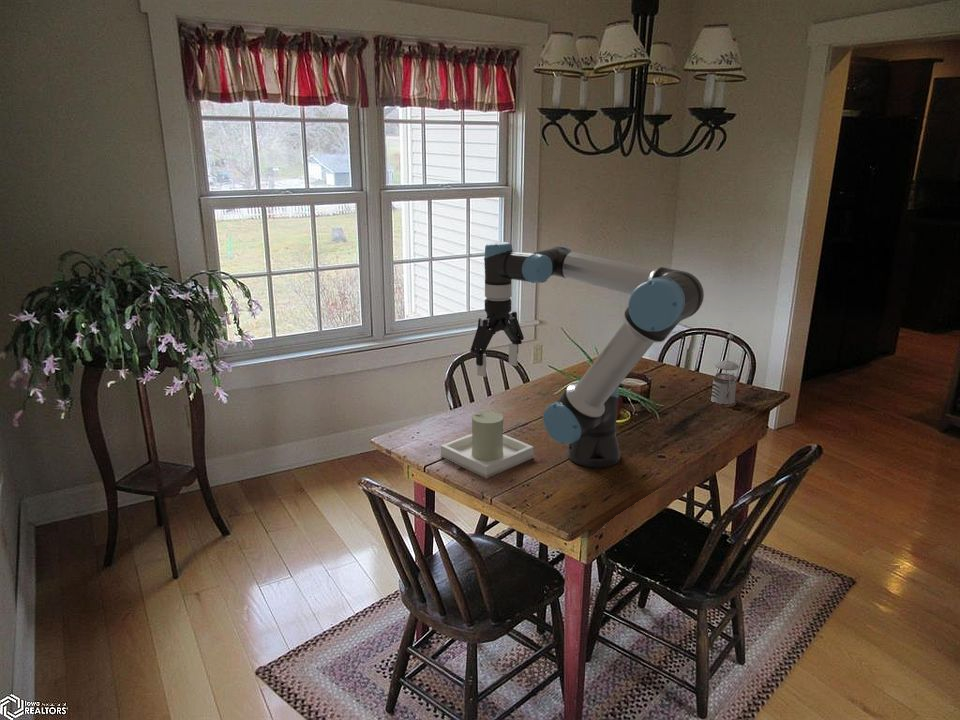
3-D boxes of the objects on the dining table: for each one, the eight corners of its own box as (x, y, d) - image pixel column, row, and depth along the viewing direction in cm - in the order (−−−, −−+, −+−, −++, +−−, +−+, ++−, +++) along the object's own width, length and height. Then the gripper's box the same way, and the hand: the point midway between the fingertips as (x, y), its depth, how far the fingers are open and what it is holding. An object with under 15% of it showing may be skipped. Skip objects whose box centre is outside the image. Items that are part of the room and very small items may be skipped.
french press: (731, 397, 247) (739, 330, 240) (743, 409, 236) (752, 339, 229) (704, 397, 247) (711, 330, 240) (715, 409, 236) (723, 339, 229)
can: (480, 444, 205) (481, 407, 202) (508, 451, 201) (509, 413, 198) (465, 456, 198) (465, 417, 194) (494, 463, 193) (494, 424, 190)
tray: (533, 457, 199) (533, 446, 198) (486, 478, 187) (486, 467, 186) (487, 438, 212) (487, 427, 211) (440, 456, 200) (440, 445, 199)
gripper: (516, 289, 203) (515, 358, 209) (457, 303, 186) (458, 377, 192) (536, 293, 198) (535, 363, 204) (477, 307, 181) (477, 383, 187)
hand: (497, 370), depth 198 cm, fingers open, 13 cm apart
